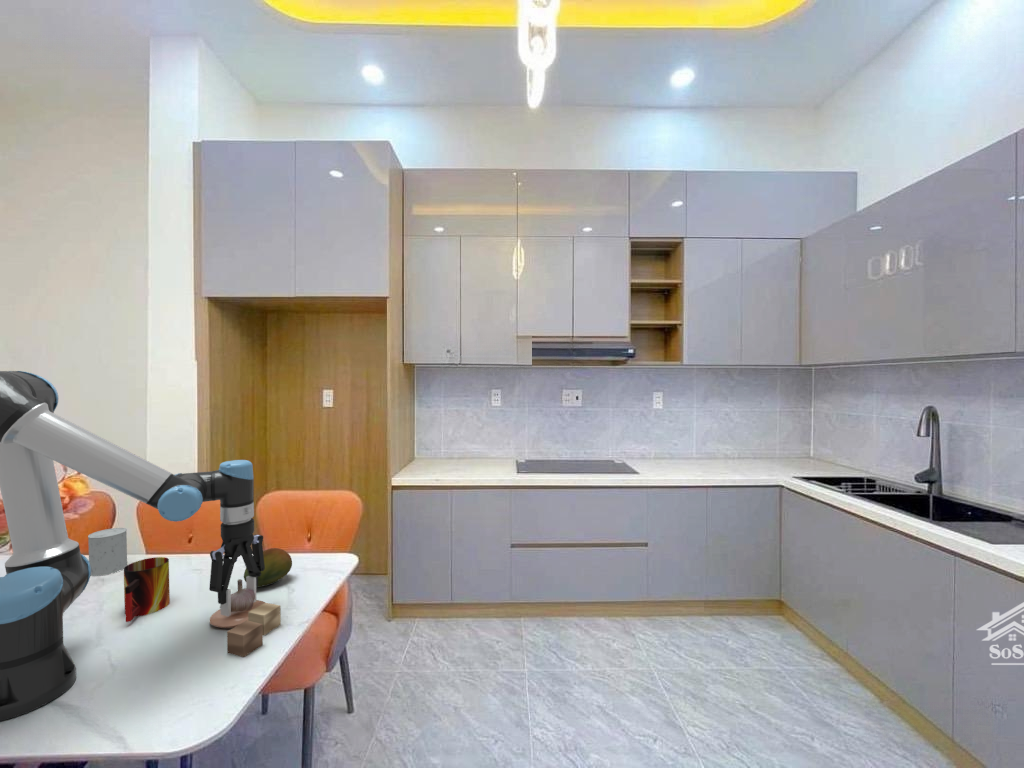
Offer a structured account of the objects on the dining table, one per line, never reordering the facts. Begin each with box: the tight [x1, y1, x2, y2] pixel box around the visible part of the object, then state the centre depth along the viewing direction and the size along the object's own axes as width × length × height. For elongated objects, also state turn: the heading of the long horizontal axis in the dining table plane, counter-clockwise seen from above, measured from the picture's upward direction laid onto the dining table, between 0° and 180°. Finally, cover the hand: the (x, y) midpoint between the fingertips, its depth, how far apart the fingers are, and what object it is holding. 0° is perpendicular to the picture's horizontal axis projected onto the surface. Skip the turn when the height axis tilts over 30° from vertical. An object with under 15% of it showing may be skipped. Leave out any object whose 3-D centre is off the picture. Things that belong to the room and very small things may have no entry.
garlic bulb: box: [231, 578, 255, 612], centre depth 119 cm, size 8×7×8 cm
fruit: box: [243, 547, 293, 588], centre depth 138 cm, size 12×13×10 cm
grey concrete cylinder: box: [87, 527, 128, 577], centre depth 149 cm, size 10×10×12 cm
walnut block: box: [226, 620, 264, 658], centre depth 105 cm, size 5×5×5 cm
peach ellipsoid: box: [209, 599, 266, 629], centre depth 119 cm, size 13×13×1 cm
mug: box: [123, 556, 171, 623], centre depth 123 cm, size 10×14×12 cm
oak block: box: [248, 602, 282, 636], centre depth 114 cm, size 5×5×5 cm
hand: (239, 607), depth 119 cm, fingers closed on garlic bulb, 7 cm apart
